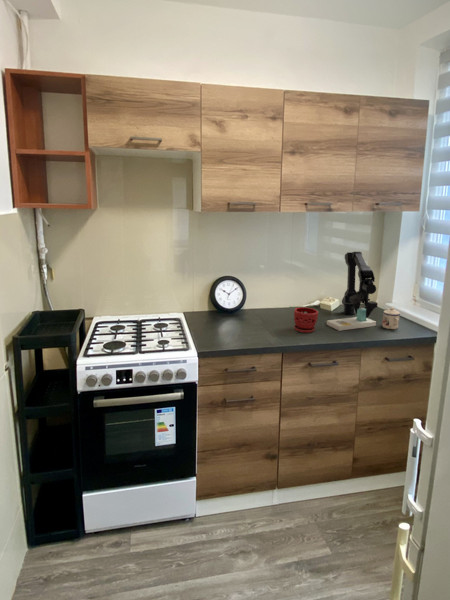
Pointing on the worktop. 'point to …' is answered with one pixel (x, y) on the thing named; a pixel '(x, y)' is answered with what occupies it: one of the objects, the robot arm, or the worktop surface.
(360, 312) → the plug
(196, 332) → the worktop surface
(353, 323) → the panel
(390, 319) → the teacup with lid
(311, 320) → the plant pot
